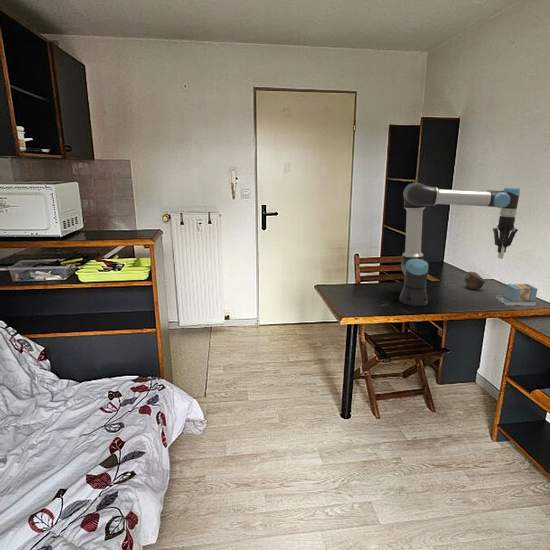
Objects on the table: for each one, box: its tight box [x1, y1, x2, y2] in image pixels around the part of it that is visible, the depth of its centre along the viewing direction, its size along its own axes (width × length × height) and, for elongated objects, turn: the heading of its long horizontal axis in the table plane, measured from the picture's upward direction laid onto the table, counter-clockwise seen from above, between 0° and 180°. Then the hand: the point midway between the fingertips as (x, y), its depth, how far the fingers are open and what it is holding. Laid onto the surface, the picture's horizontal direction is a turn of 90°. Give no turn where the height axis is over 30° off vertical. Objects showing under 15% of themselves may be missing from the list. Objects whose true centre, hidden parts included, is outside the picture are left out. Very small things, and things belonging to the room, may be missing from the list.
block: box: [513, 283, 530, 302], centre depth 224 cm, size 5×8×8 cm, turn 179°
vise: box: [495, 283, 538, 307], centre depth 224 cm, size 16×11×10 cm
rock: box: [464, 271, 486, 290], centre depth 248 cm, size 12×10×10 cm
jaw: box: [504, 283, 521, 302], centre depth 224 cm, size 4×9×8 cm, turn 179°
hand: (500, 258), depth 223 cm, fingers closed
